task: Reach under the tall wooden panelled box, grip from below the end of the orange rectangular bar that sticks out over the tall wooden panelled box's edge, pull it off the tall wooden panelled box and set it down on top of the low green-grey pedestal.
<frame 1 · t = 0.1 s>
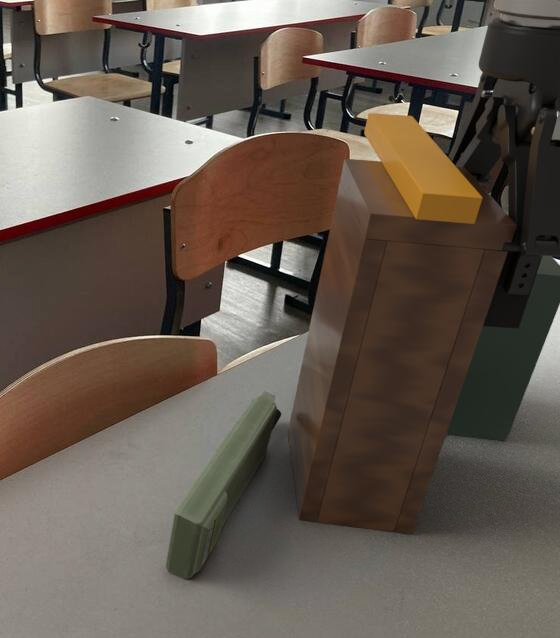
hand: (472, 286, 64), 21 cm above the table, tool pointing down, fingers open, 13 cm apart
tall wooden panelled box: (344, 479, 74), on the table
orange rectangular bar: (410, 172, 63), point 30 cm above the table, touching tall wooden panelled box
pedestal: (446, 410, 85), on the table
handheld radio: (231, 490, 73), on the table
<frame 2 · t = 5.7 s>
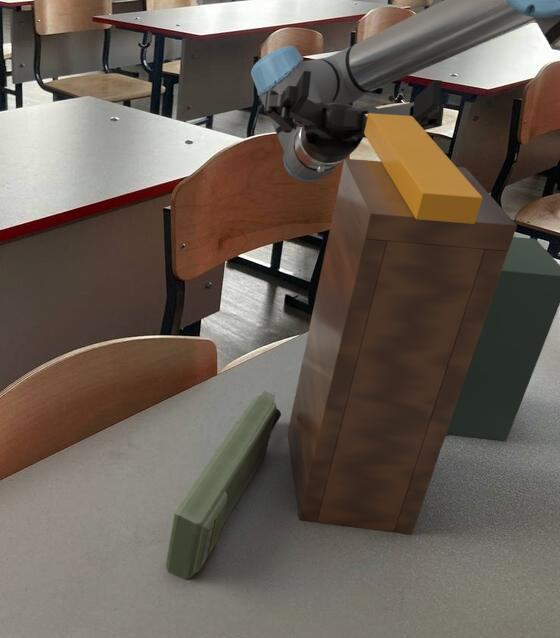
hand: (371, 88, 81), 32 cm above the table, tool pointing upward, fingers open, 13 cm apart
nothing on the table moved.
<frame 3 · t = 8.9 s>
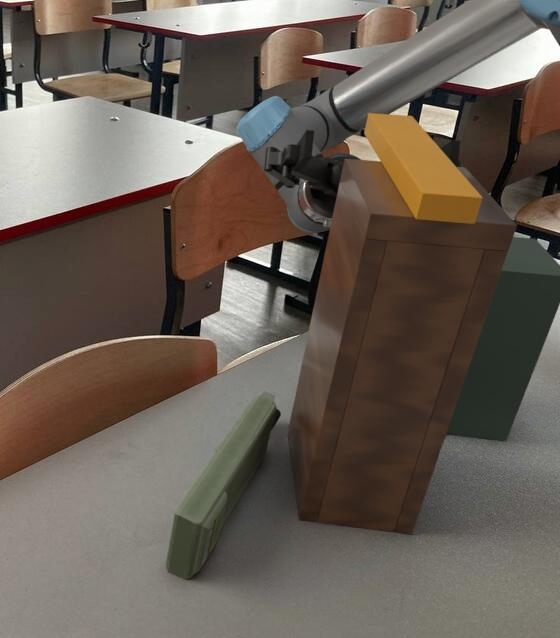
hand: (381, 149, 73), 29 cm above the table, tool pointing upward, fingers open, 13 cm apart
nothing on the table moved.
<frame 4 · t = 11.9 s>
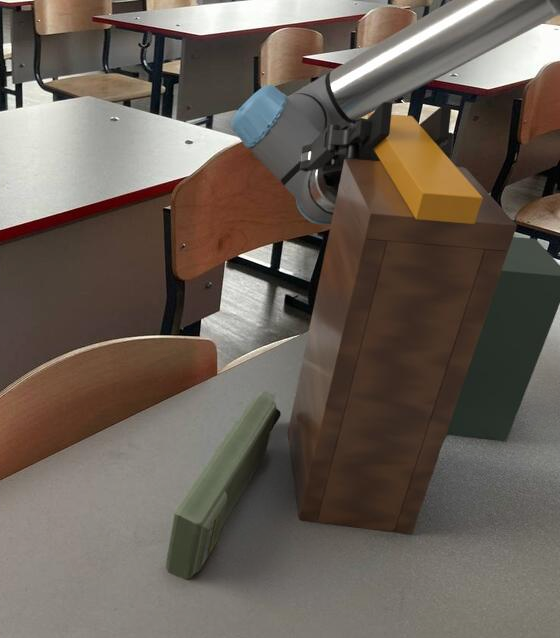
hand: (415, 120, 63), 34 cm above the table, tool pointing upward, fingers closed on orange rectangular bar, 4 cm apart
orange rectangular bar: (410, 172, 63), point 30 cm above the table, touching gripper, tall wooden panelled box
everything else where it was.
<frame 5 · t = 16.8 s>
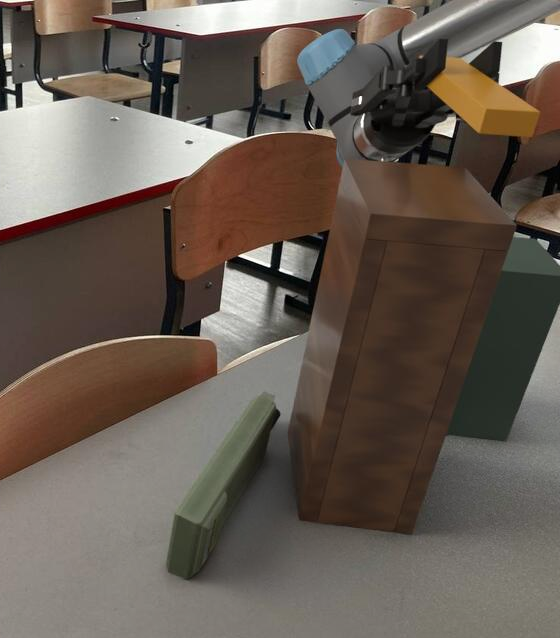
hand: (469, 55, 69), 37 cm above the table, tool pointing upward, fingers closed on orange rectangular bar, 4 cm apart
orange rectangular bar: (465, 102, 69), point 34 cm above the table, touching gripper
everything else where it was.
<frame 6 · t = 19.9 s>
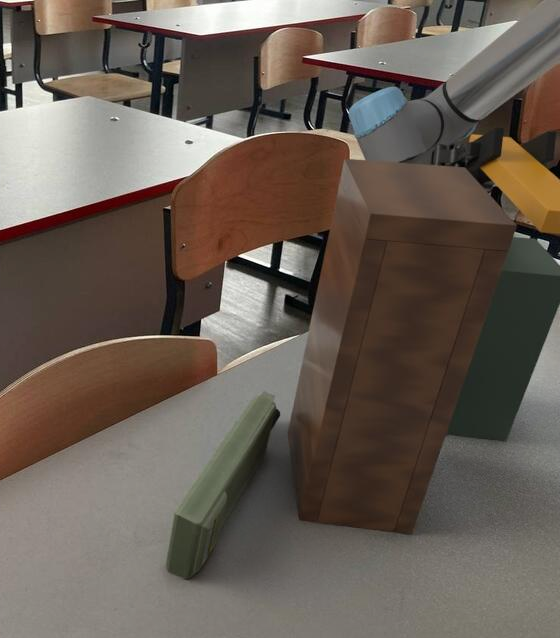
hand: (524, 143, 72), 30 cm above the table, tool pointing upward, fingers closed on orange rectangular bar, 4 cm apart
orange rectangular bar: (520, 189, 72), point 26 cm above the table, touching gripper
everything else where it was.
when the fingers open (23 cm above the table, at t = 21.9 s): orange rectangular bar stays where it is, resting on pedestal.
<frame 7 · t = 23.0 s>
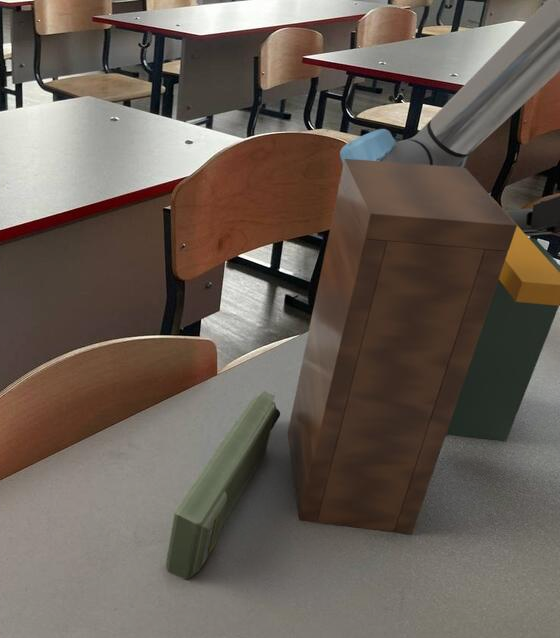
hand: (495, 202, 77), 23 cm above the table, tool pointing upward, fingers open, 13 cm apart
orange rectangular bar: (498, 252, 75), point 19 cm above the table, touching pedestal
everything else where it was.
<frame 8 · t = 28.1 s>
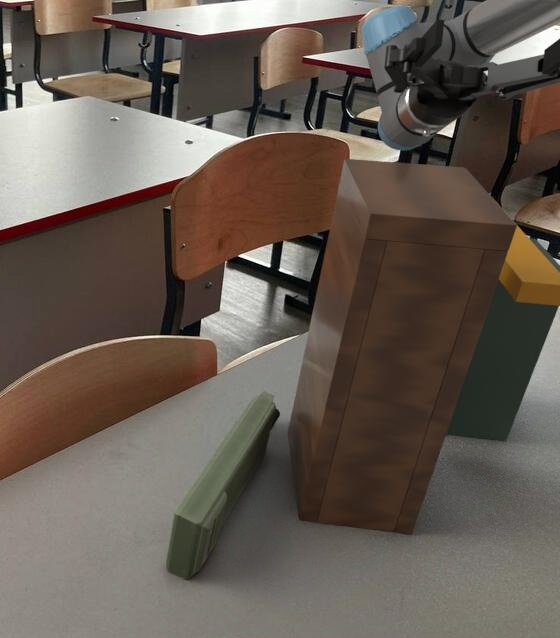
hand: (508, 36, 78), 38 cm above the table, tool pointing upward, fingers open, 13 cm apart
nothing on the table moved.
at the end: orange rectangular bar inside the target area (0.0 cm from its centre), point 19.5 cm above the table; orange rectangular bar tilted 0°; the gripper is holding nothing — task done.
